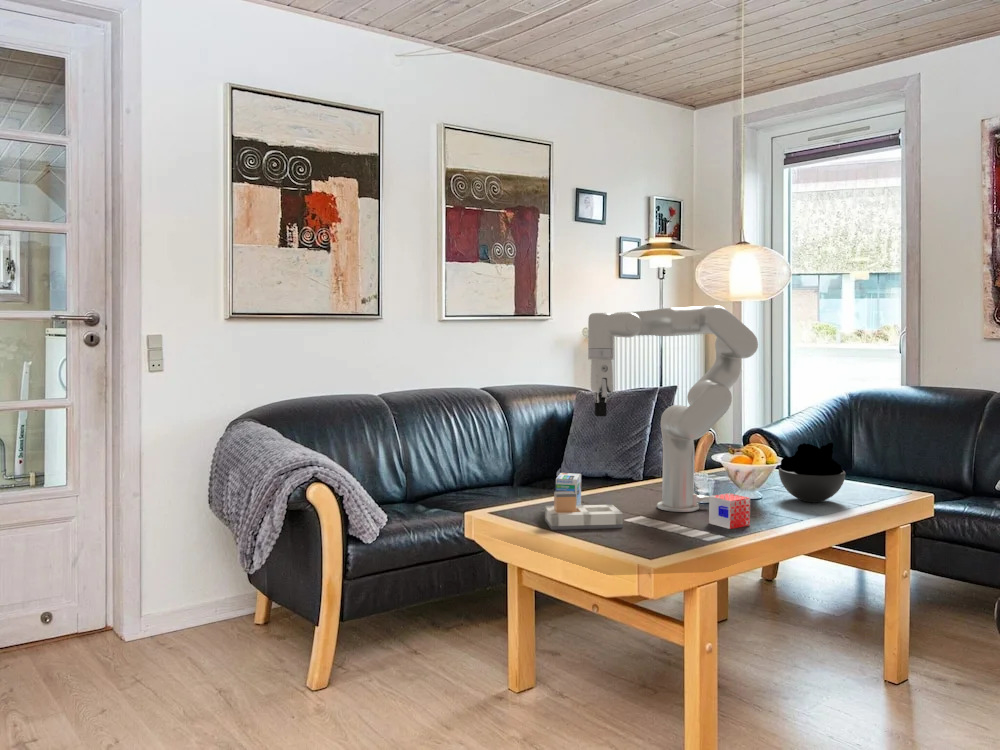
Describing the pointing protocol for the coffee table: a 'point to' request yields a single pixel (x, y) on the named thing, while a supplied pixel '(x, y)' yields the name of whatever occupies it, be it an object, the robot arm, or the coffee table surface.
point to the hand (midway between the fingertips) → (600, 415)
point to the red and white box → (729, 510)
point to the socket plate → (585, 517)
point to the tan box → (564, 501)
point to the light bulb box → (570, 484)
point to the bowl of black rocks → (811, 473)
